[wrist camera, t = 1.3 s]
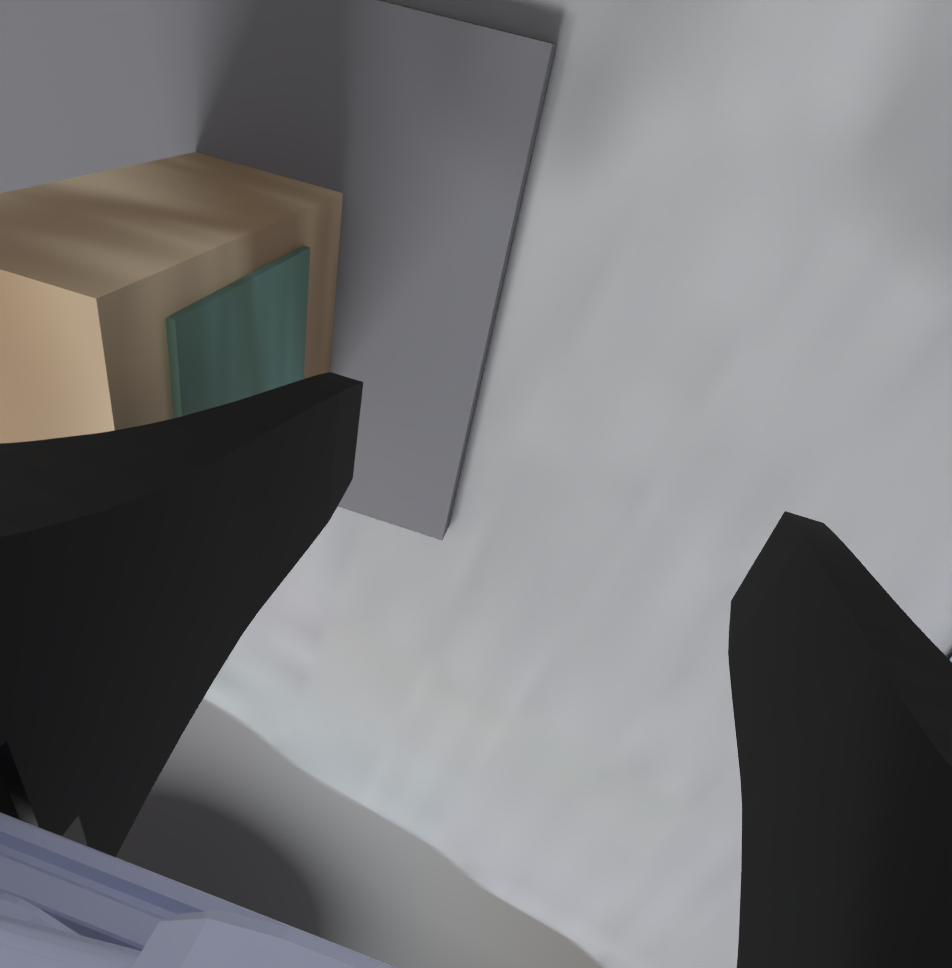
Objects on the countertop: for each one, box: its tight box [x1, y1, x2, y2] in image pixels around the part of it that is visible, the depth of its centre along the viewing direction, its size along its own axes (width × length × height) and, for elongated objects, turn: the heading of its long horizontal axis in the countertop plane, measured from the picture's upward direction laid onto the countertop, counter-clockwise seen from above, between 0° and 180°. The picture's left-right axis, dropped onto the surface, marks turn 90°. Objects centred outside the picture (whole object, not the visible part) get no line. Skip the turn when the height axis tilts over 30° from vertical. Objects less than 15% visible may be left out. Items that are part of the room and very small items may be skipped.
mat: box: [0, 0, 556, 540], centre depth 16 cm, size 16×12×1 cm
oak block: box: [0, 152, 343, 443], centre depth 13 cm, size 4×5×8 cm
